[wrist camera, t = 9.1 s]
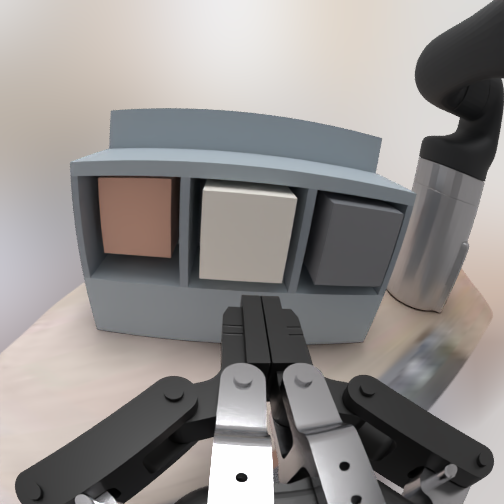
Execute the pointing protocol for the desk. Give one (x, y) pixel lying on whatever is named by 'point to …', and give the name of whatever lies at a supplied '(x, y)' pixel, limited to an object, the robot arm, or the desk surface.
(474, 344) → the desk surface
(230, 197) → the cream key
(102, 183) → the terracotta key
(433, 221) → the robot arm
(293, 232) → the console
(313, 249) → the charcoal key
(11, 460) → the desk surface
